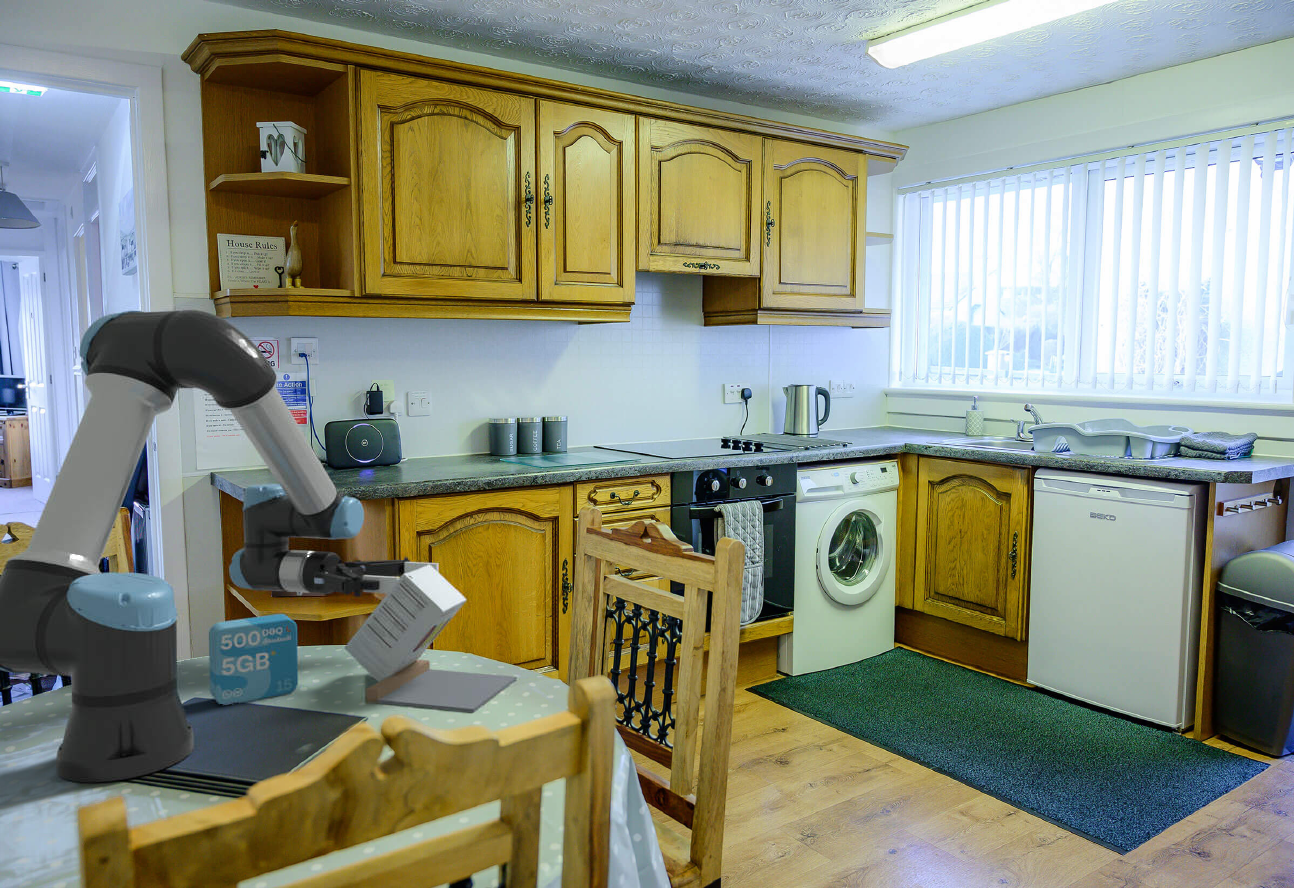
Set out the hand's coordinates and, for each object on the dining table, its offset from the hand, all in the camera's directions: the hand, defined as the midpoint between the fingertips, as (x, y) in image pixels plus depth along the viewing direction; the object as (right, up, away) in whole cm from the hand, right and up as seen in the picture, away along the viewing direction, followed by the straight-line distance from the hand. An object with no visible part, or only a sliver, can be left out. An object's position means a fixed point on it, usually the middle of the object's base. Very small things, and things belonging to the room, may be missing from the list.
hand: (419, 577), depth 153 cm
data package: (-22, -16, -16) cm, 31 cm away
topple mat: (+8, -16, -13) cm, 22 cm away
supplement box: (-5, -13, -7) cm, 15 cm away
